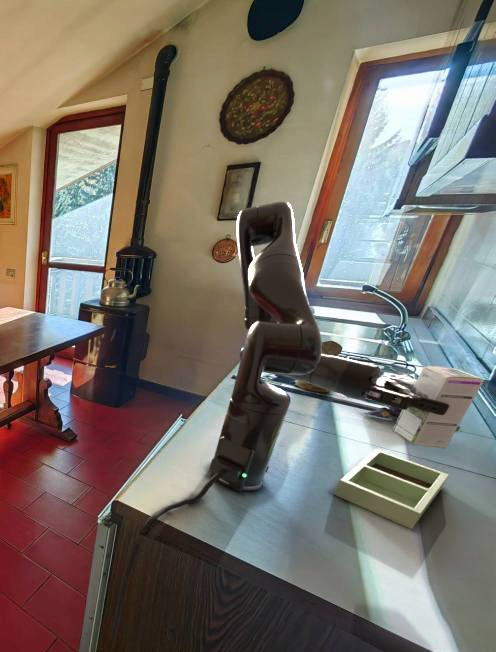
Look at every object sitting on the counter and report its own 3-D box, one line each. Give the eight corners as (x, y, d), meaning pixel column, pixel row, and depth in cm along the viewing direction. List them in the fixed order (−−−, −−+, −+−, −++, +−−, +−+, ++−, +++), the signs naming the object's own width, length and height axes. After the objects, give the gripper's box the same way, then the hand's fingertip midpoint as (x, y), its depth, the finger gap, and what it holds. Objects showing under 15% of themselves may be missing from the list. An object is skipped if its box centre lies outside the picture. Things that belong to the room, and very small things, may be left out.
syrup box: (447, 449, 74) (488, 379, 68) (411, 445, 75) (448, 375, 69) (423, 433, 79) (459, 367, 73) (389, 430, 80) (422, 364, 74)
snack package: (366, 406, 116) (360, 417, 108) (379, 388, 112) (375, 398, 105) (419, 427, 108) (418, 440, 101) (436, 408, 105) (435, 420, 98)
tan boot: (293, 391, 125) (313, 337, 118) (297, 380, 134) (315, 329, 127) (329, 399, 119) (351, 343, 112) (330, 387, 129) (351, 334, 122)
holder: (411, 529, 69) (420, 513, 67) (333, 494, 77) (339, 479, 76) (441, 488, 79) (449, 474, 78) (369, 462, 88) (375, 448, 87)
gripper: (337, 366, 80) (454, 395, 67) (361, 354, 87) (471, 378, 74) (324, 398, 83) (433, 432, 70) (348, 385, 90) (451, 413, 77)
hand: (452, 404), depth 72 cm, fingers closed on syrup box, 8 cm apart
